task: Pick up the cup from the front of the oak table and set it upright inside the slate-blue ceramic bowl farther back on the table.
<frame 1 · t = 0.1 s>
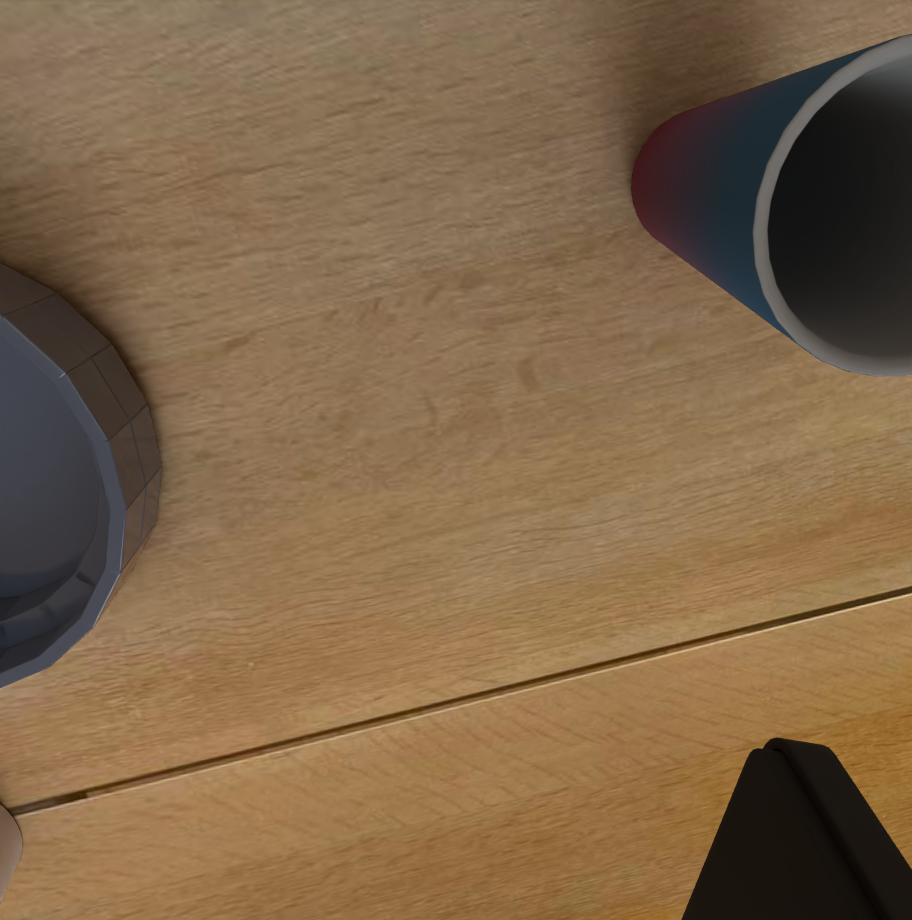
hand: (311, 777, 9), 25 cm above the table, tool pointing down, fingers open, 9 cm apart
cup: (697, 181, 32), on the table
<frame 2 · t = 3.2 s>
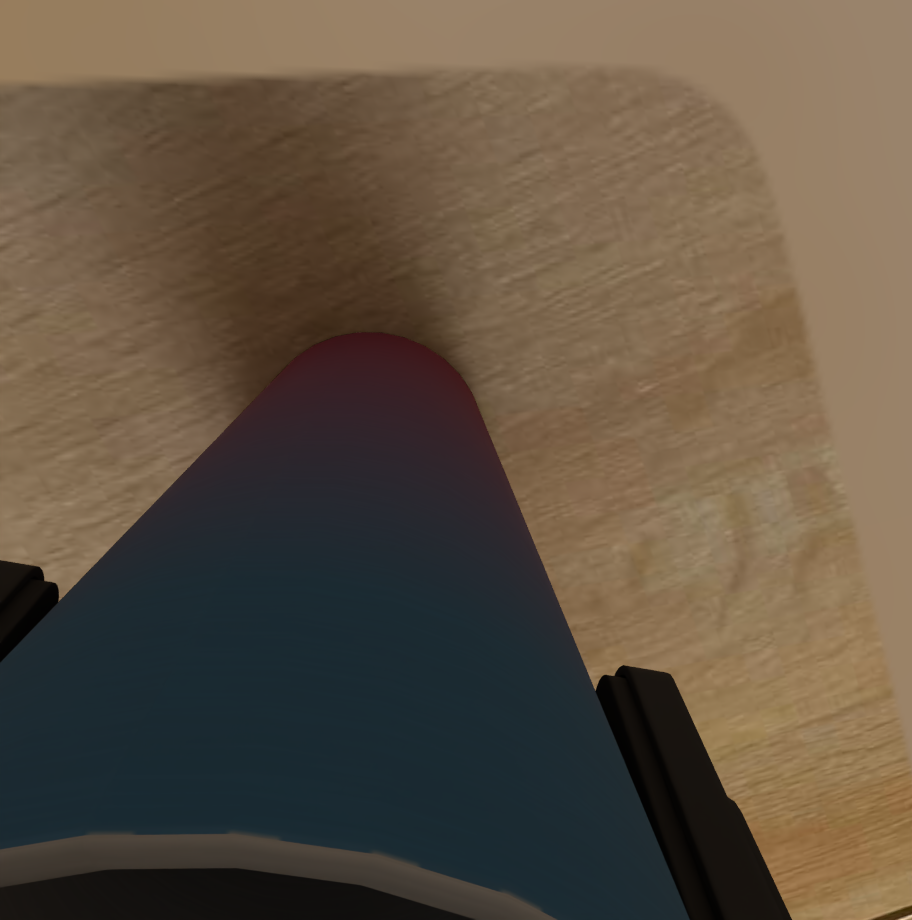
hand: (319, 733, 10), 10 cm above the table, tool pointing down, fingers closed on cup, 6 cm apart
cup: (372, 439, 19), on the table, touching gripper
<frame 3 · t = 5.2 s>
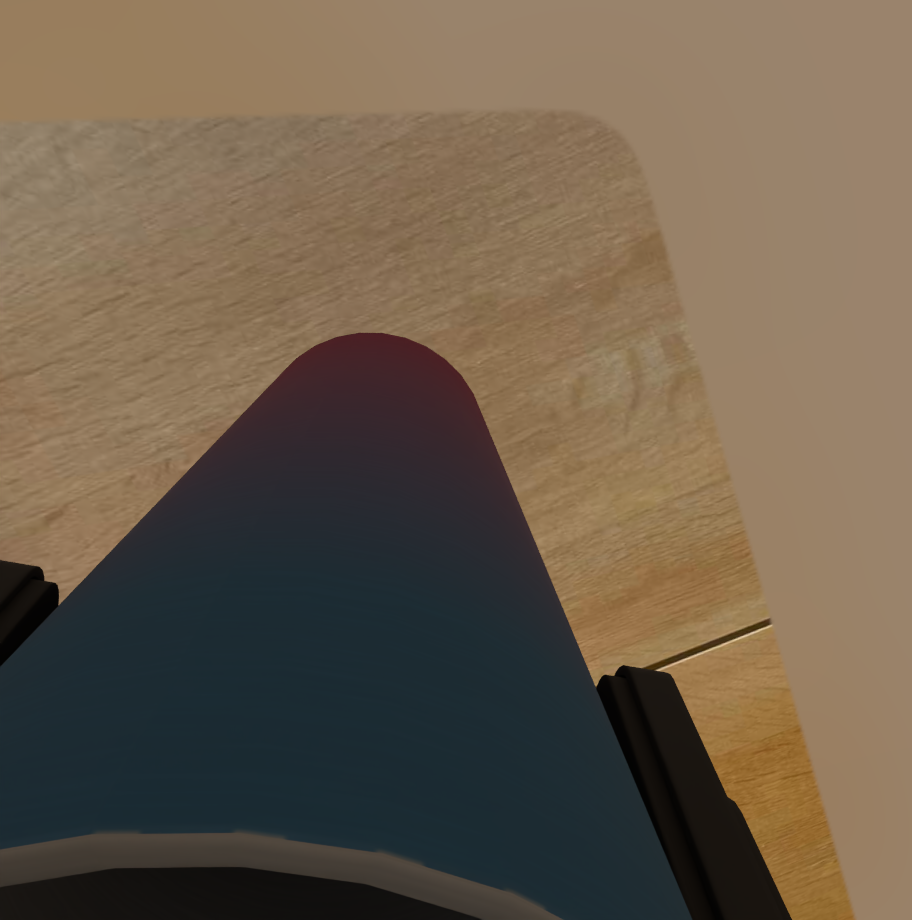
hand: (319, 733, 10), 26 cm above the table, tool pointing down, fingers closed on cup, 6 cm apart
cup: (373, 439, 19), point 16 cm above the table, touching gripper
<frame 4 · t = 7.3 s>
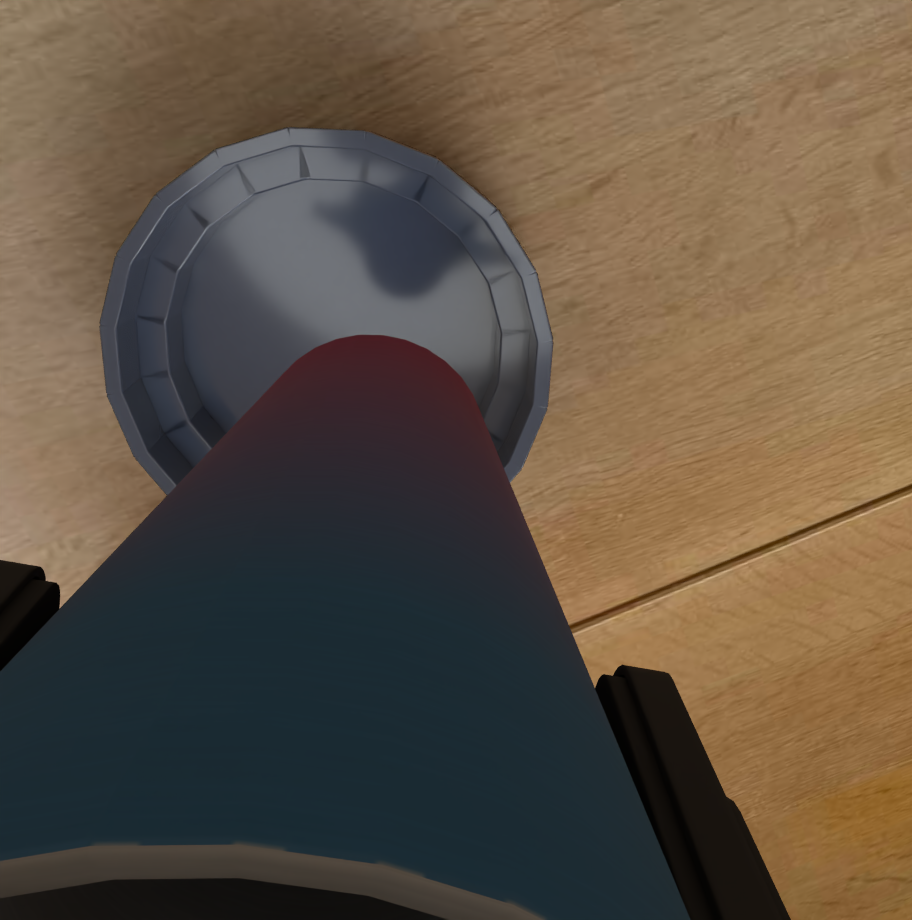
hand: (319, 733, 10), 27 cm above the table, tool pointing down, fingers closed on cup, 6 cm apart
cup: (373, 441, 19), point 17 cm above the table, touching gripper
bowl: (341, 338, 36), on the table
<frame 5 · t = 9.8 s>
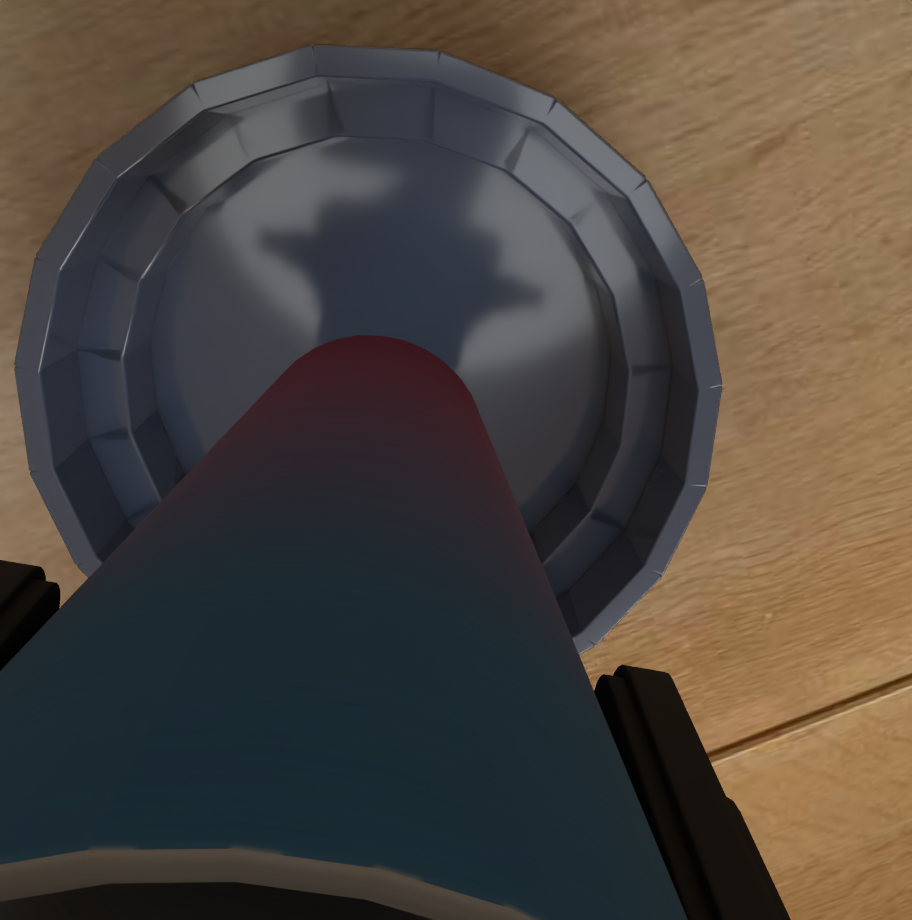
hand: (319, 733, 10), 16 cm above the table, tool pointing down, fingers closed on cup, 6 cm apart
cup: (372, 442, 19), point 6 cm above the table, touching gripper
bowl: (384, 374, 25), on the table
when the fingers open (11 cm above the table, at t = 11.6 s): cup stays where it is, resting on bowl.
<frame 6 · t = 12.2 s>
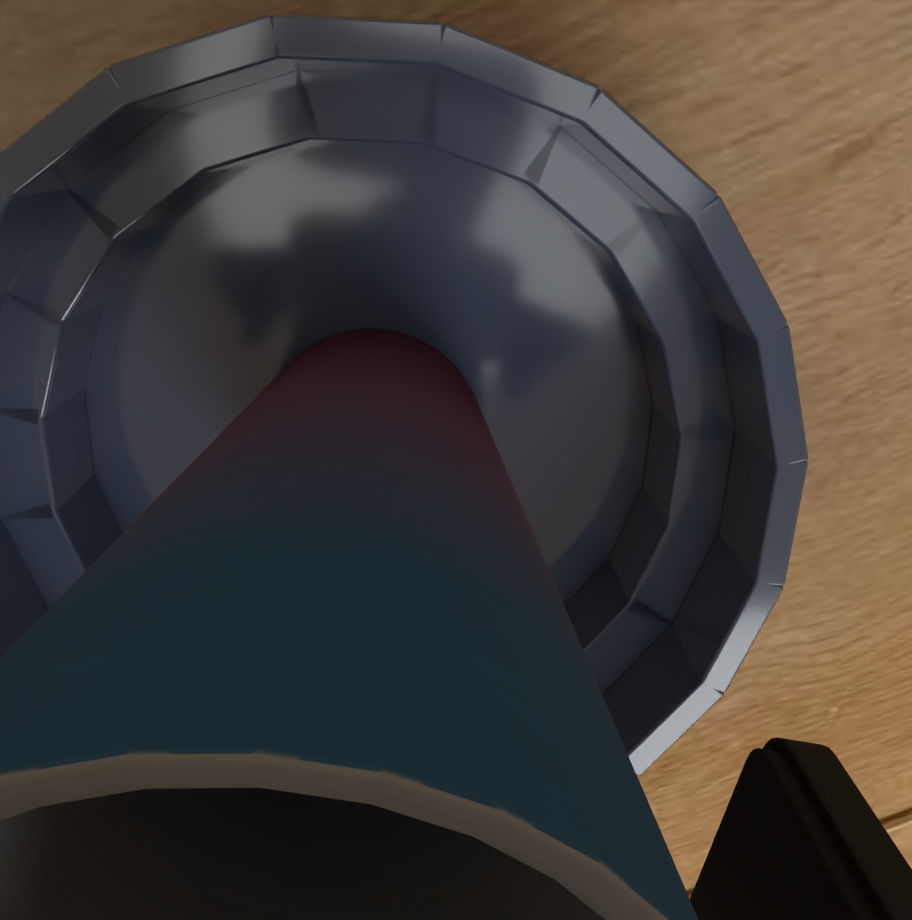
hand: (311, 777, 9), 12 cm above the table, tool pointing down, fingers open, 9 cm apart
cup: (373, 433, 20), resting on bowl
bowl: (374, 429, 20), on the table
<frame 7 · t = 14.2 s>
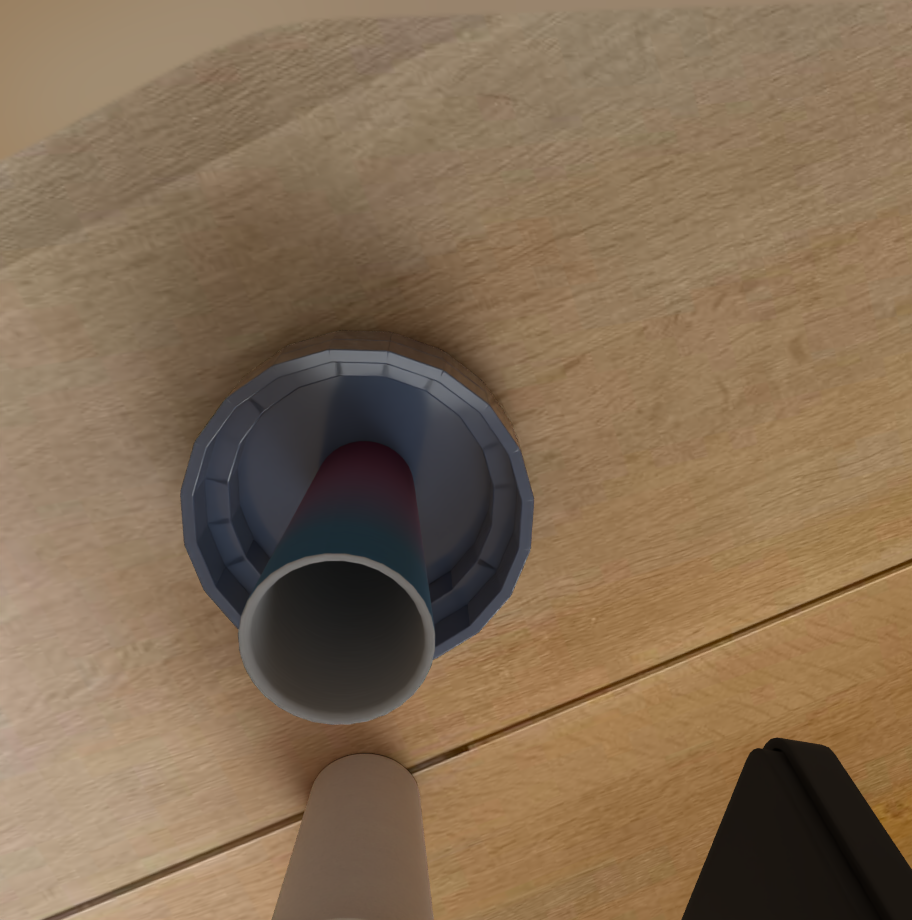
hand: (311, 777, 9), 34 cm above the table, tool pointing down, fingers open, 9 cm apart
cup: (365, 485, 44), resting on bowl
coffee cup: (365, 796, 51), on the table
bowl: (365, 484, 44), on the table
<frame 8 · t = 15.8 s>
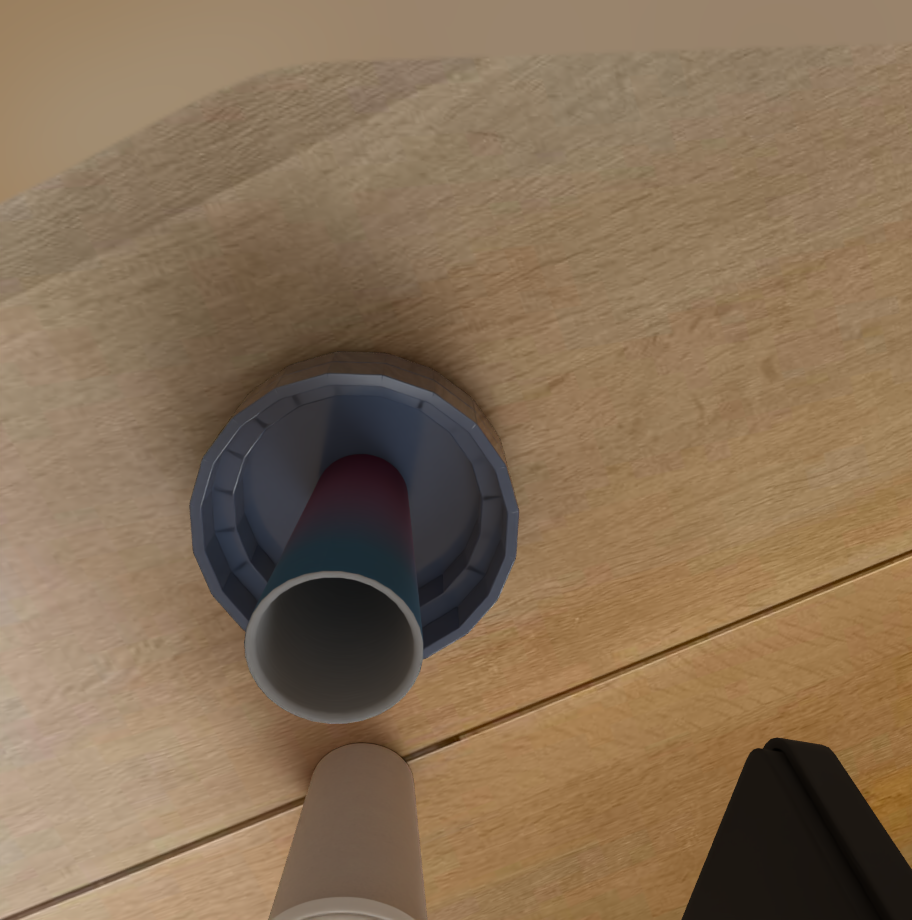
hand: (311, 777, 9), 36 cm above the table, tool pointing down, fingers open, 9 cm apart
cup: (362, 495, 47), resting on bowl
coffee cup: (363, 782, 54), on the table
bowl: (362, 493, 47), on the table
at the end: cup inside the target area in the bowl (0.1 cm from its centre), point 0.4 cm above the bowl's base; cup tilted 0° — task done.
